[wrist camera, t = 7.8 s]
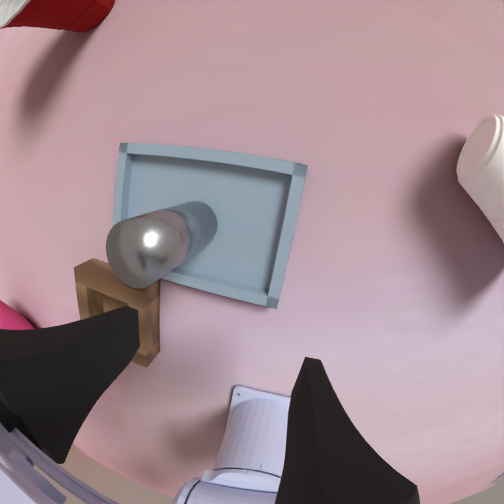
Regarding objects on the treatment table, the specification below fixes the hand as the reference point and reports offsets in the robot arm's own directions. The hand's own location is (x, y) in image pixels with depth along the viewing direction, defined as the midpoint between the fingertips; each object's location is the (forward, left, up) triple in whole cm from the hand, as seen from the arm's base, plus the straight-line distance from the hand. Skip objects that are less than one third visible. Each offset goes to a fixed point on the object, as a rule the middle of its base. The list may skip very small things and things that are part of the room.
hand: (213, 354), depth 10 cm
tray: (+3, +5, -10) cm, 12 cm away
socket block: (-7, +12, -10) cm, 17 cm away
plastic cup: (+24, +22, -11) cm, 34 cm away
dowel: (+2, +5, -10) cm, 11 cm away
